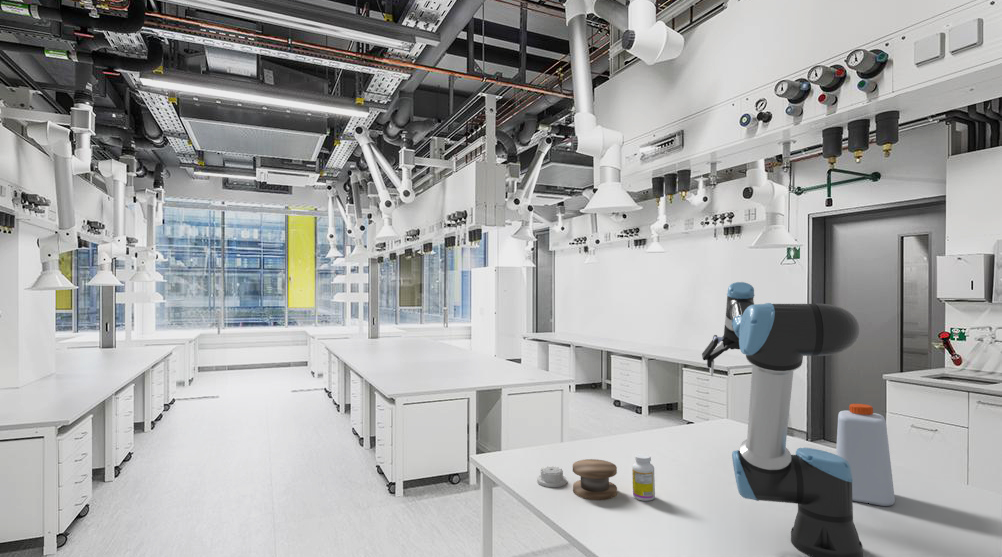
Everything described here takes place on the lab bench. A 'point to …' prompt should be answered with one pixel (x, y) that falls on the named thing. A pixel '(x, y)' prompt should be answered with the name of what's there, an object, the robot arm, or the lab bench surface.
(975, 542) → the lab bench surface
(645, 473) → the supplement bottle
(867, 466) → the plastic bottle
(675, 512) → the lab bench surface
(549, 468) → the mechanical component
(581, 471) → the bobbin
